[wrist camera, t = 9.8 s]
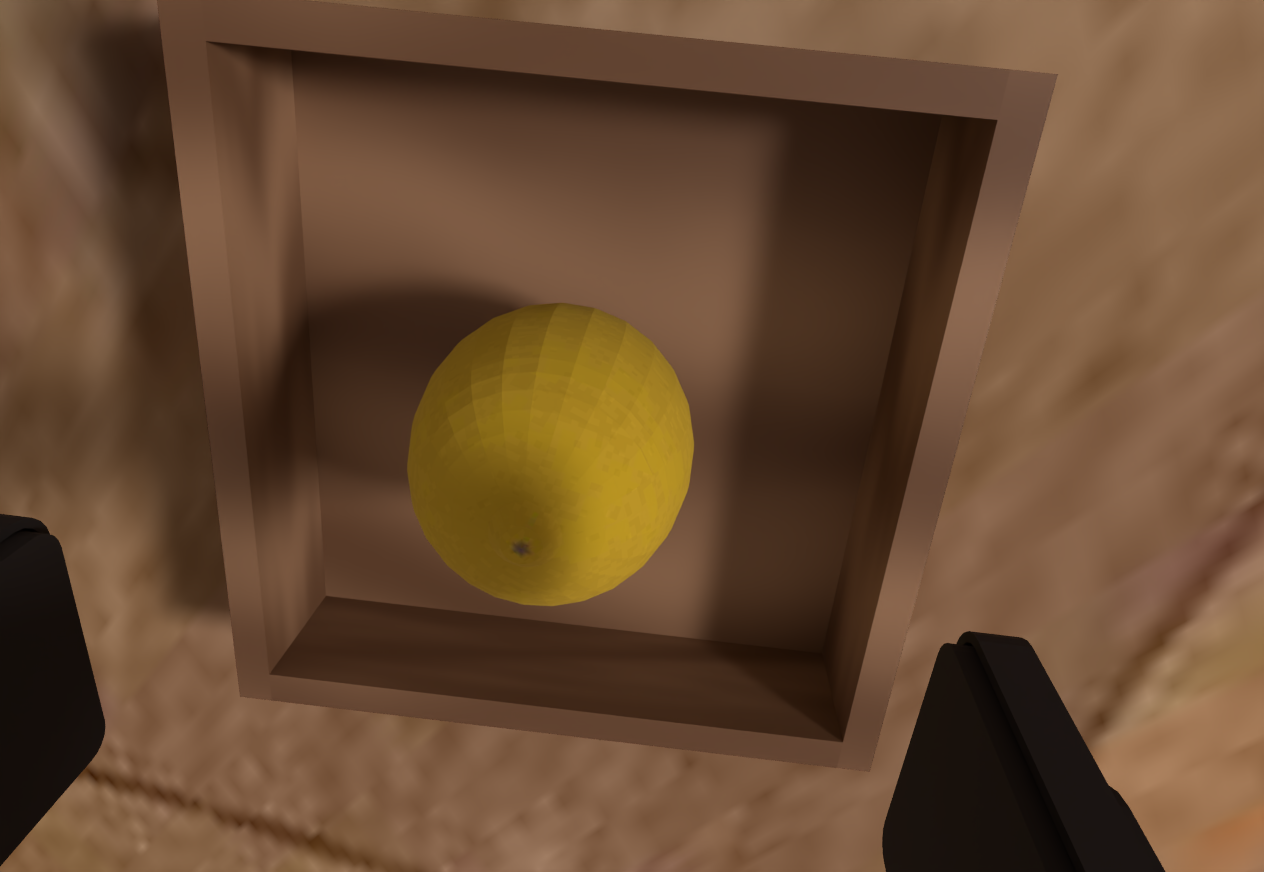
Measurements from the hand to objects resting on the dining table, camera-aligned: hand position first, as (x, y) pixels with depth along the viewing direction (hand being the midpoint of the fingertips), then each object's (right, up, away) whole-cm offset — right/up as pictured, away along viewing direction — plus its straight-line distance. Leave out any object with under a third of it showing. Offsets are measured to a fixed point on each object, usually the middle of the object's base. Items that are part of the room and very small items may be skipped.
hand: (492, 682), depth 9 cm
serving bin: (0, +4, +12) cm, 13 cm away
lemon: (0, +4, +12) cm, 12 cm away
